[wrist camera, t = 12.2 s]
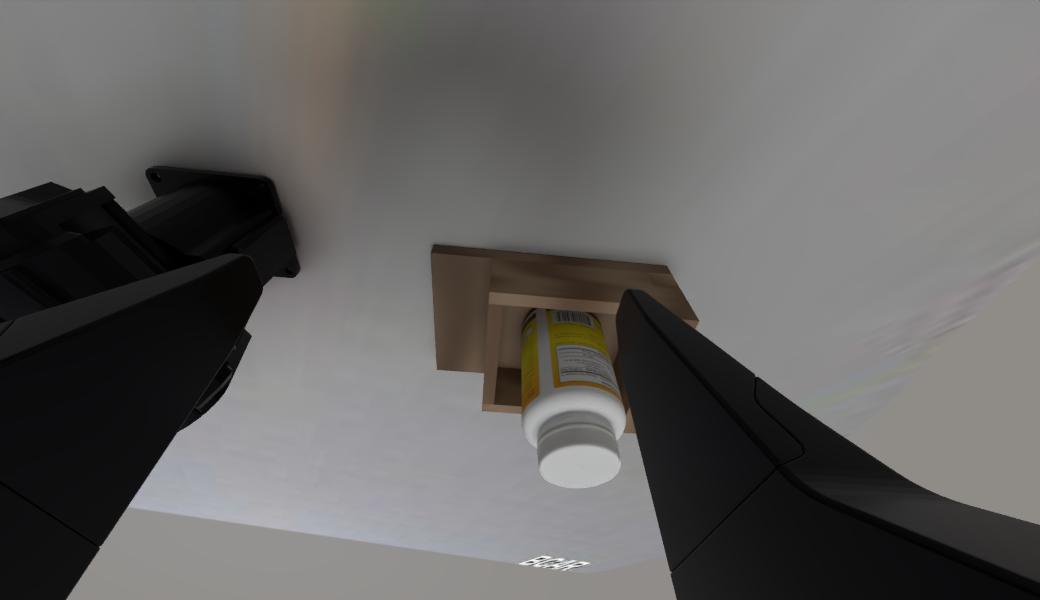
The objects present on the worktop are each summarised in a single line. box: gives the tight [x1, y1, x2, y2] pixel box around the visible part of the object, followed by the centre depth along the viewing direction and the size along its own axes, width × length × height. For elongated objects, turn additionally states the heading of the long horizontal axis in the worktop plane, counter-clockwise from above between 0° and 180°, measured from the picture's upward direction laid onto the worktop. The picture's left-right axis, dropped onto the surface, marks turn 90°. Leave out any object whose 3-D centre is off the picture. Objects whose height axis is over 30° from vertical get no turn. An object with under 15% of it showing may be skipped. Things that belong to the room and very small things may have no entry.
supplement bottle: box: [521, 308, 626, 488], centre depth 22 cm, size 6×6×10 cm
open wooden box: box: [431, 245, 699, 433], centre depth 24 cm, size 15×10×6 cm
